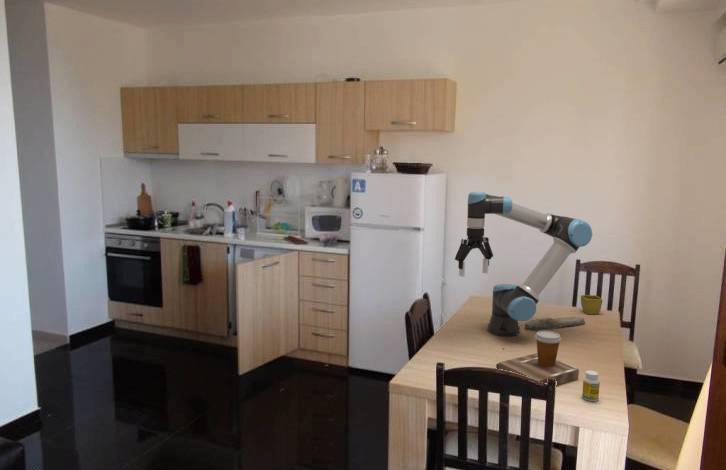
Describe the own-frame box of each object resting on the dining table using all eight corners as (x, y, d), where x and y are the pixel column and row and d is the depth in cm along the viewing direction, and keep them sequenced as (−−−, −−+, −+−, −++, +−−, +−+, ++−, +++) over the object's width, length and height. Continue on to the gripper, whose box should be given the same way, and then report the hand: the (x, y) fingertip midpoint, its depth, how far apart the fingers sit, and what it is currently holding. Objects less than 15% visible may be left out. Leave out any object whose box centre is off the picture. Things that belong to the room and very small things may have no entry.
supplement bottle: (590, 394, 195) (592, 368, 193) (601, 400, 190) (604, 374, 188) (578, 396, 193) (580, 370, 192) (589, 402, 188) (591, 376, 187)
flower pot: (601, 315, 291) (603, 299, 289) (585, 315, 291) (586, 299, 289) (595, 311, 299) (596, 295, 298) (579, 310, 299) (580, 295, 298)
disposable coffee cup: (556, 370, 206) (558, 340, 204) (531, 365, 210) (532, 335, 209) (561, 362, 214) (563, 333, 212) (537, 357, 219) (538, 328, 217)
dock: (535, 361, 226) (536, 351, 225) (578, 379, 207) (579, 368, 207) (496, 371, 215) (496, 360, 214) (537, 391, 197) (538, 380, 196)
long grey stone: (590, 328, 274) (576, 323, 283) (590, 318, 274) (576, 313, 283) (532, 331, 262) (519, 326, 271) (533, 321, 262) (520, 316, 271)
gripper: (490, 224, 248) (488, 270, 251) (447, 228, 236) (446, 275, 239) (502, 226, 242) (500, 273, 245) (459, 230, 229) (457, 279, 233)
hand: (473, 274), depth 242 cm, fingers open, 13 cm apart
